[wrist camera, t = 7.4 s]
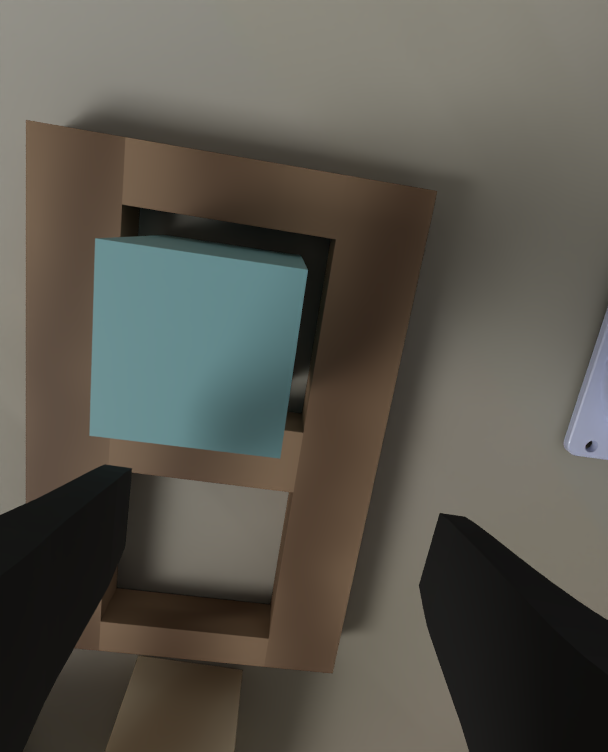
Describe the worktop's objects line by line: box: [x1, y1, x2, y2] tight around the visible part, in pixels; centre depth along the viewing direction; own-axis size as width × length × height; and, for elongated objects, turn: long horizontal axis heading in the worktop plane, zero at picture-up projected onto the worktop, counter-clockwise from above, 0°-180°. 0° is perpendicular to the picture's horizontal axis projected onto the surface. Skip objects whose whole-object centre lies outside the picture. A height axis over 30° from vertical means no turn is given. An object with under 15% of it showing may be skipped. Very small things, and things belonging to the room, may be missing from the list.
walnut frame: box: [26, 120, 437, 673], centre depth 19 cm, size 13×20×2 cm, turn 171°
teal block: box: [89, 235, 308, 459], centre depth 16 cm, size 5×5×7 cm
